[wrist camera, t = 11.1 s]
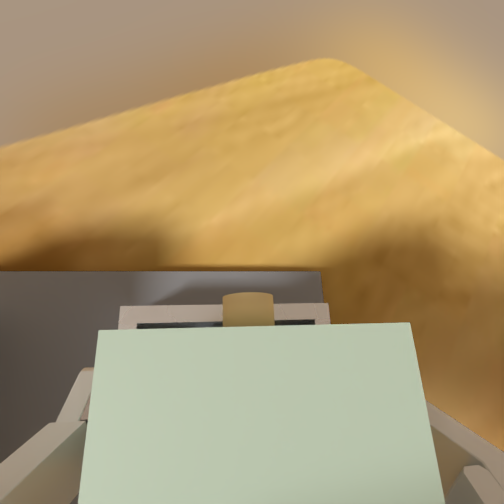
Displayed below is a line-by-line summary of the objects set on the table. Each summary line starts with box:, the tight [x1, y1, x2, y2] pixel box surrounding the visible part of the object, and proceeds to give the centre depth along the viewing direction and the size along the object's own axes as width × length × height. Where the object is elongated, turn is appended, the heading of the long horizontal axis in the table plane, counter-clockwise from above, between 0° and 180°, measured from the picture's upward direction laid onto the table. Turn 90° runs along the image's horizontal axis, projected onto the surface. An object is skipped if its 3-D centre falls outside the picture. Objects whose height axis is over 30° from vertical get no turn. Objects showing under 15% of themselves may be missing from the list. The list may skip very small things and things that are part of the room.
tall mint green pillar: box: [78, 292, 445, 504], centre depth 10 cm, size 6×4×10 cm
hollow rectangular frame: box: [118, 303, 331, 330], centre depth 15 cm, size 10×7×3 cm
